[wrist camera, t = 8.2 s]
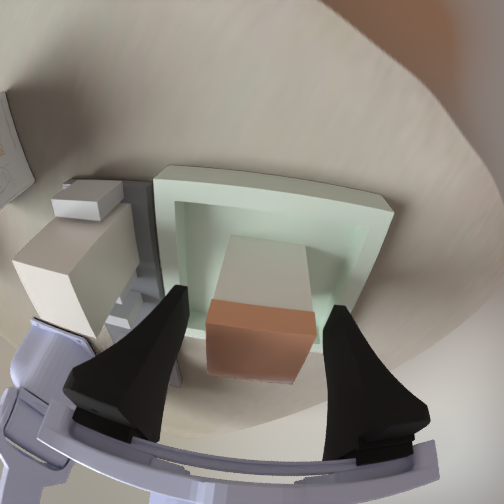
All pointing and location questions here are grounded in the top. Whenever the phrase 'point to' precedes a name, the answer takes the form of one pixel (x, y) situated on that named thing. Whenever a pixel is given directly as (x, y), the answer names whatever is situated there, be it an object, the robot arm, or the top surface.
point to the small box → (11, 158)
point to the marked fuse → (260, 312)
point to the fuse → (79, 268)
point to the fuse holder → (148, 270)
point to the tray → (265, 232)
